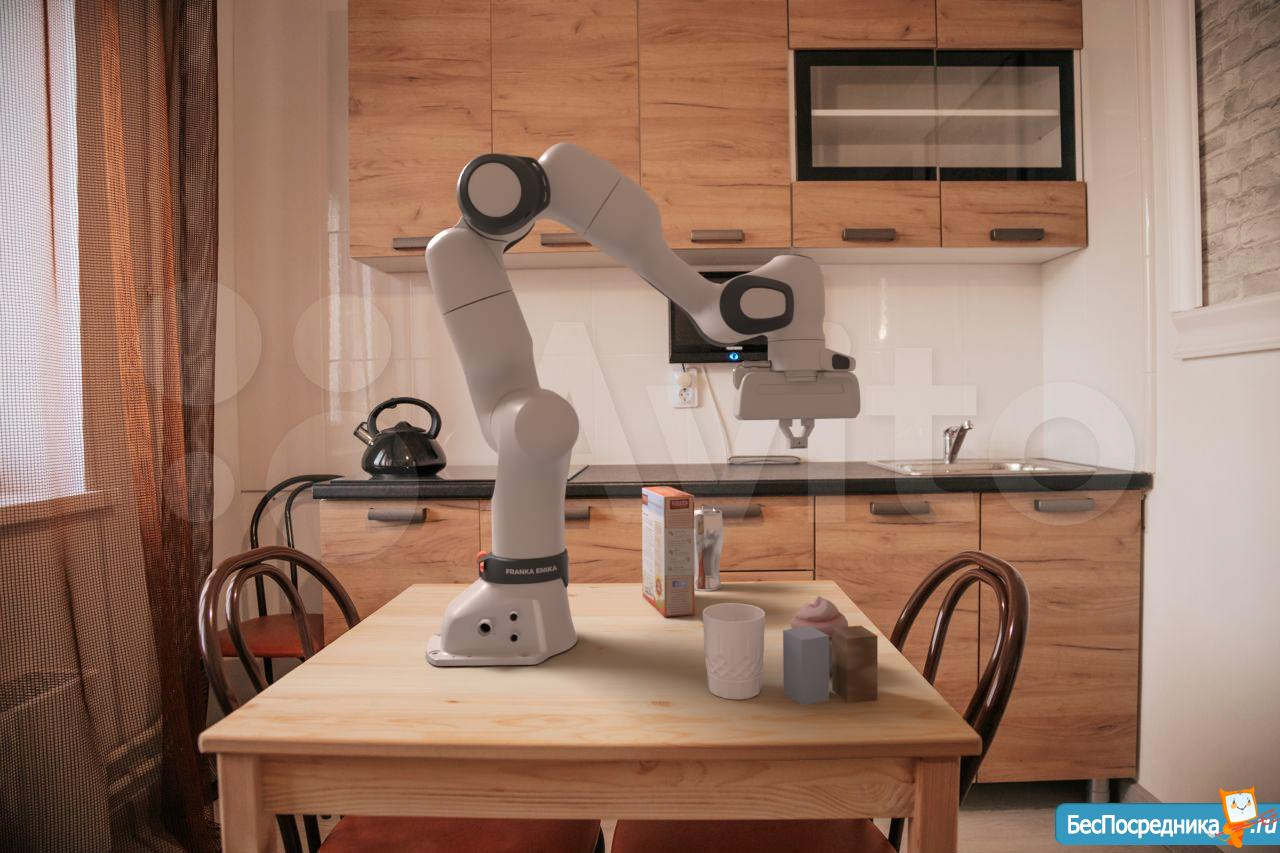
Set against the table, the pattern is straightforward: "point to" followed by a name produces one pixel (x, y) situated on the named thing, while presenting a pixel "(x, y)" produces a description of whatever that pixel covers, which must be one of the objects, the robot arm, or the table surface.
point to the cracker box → (668, 550)
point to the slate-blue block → (806, 665)
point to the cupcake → (820, 620)
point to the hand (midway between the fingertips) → (796, 448)
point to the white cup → (734, 649)
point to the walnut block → (855, 664)
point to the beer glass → (707, 549)
